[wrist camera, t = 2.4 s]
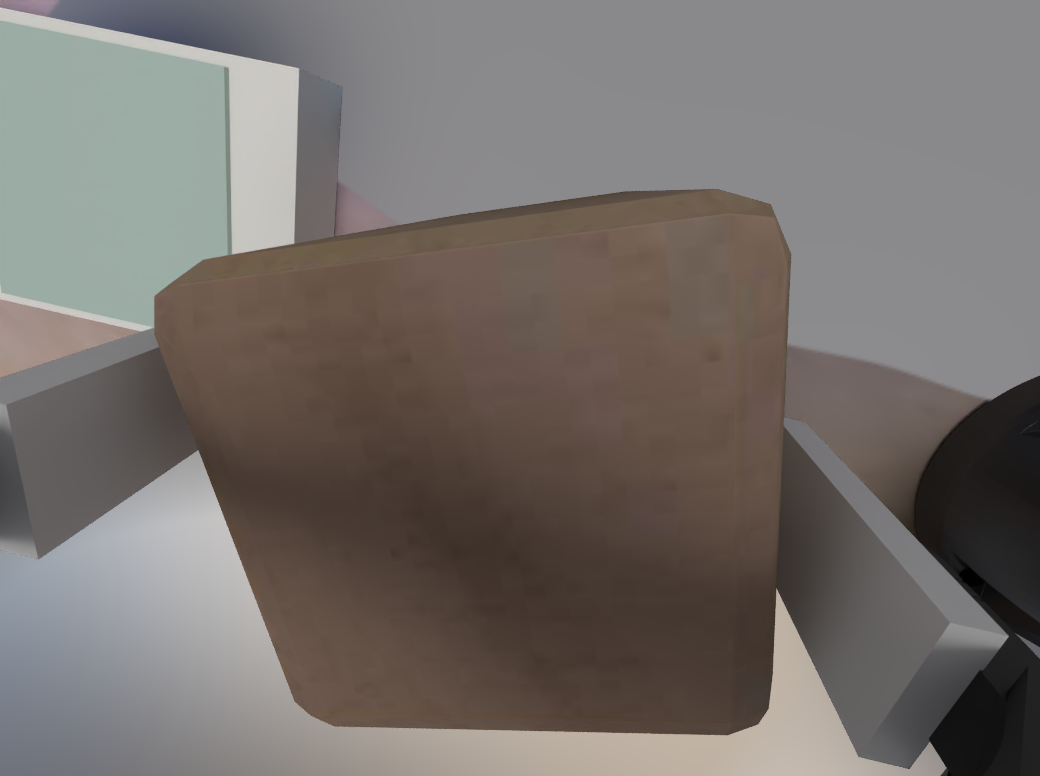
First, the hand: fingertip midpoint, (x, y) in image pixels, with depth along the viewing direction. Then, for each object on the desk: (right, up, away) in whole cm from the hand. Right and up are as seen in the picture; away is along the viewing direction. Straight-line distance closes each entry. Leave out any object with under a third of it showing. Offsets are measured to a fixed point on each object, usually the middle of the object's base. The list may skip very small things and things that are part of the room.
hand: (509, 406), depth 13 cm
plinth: (-18, +11, +14) cm, 25 cm away
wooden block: (+2, +5, +14) cm, 15 cm away
